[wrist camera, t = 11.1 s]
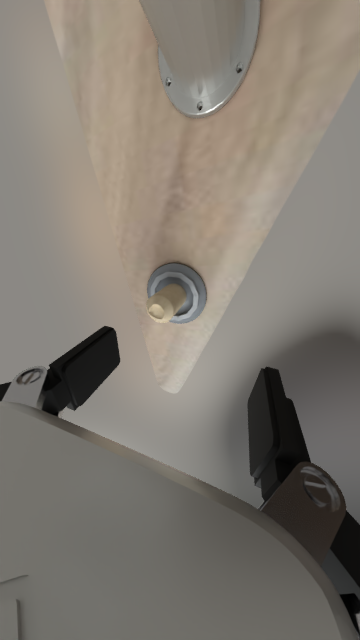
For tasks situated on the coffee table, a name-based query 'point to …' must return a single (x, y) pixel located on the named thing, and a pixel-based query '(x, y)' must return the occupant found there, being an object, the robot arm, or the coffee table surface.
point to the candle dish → (188, 281)
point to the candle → (166, 303)
